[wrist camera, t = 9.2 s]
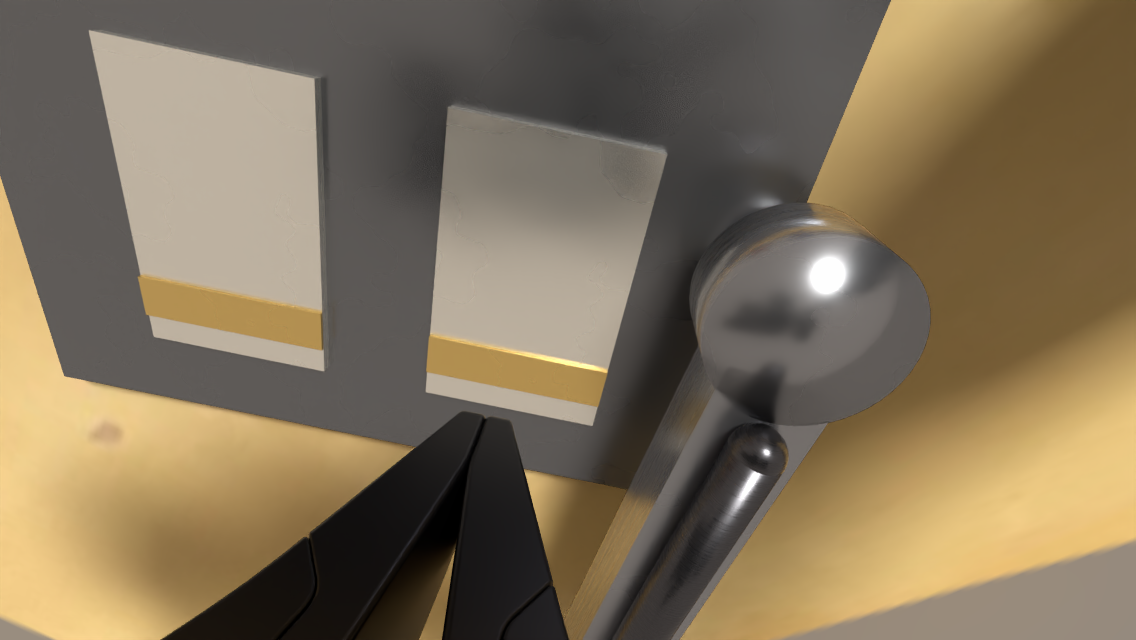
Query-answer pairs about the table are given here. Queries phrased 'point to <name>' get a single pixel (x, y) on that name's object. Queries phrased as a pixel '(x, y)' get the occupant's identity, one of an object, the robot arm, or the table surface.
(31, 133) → the panel
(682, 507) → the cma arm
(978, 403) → the table surface
